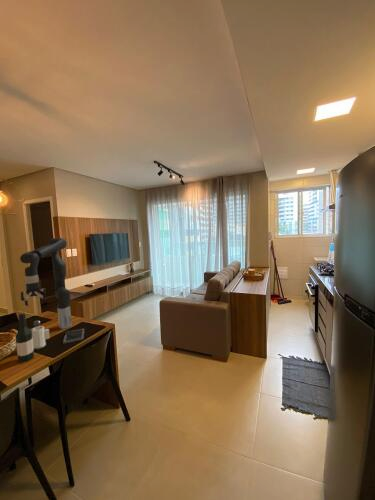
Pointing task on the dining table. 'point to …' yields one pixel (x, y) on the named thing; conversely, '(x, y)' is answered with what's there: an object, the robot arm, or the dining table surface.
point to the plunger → (37, 323)
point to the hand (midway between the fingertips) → (34, 304)
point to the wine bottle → (24, 341)
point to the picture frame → (73, 336)
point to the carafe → (39, 337)
